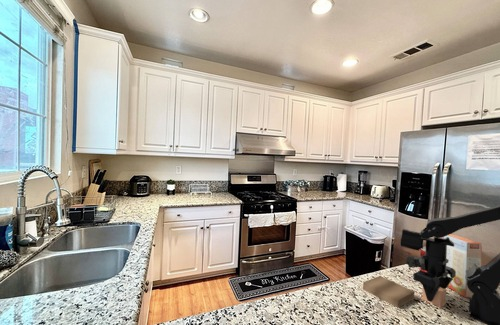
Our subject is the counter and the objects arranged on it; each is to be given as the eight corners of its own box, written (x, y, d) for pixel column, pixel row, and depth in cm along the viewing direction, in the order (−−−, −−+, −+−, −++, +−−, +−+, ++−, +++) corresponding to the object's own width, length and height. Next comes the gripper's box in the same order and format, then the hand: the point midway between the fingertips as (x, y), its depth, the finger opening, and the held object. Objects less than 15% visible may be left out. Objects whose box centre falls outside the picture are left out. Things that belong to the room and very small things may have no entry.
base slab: (414, 299, 77) (414, 291, 77) (397, 309, 70) (397, 300, 71) (379, 283, 87) (380, 275, 87) (362, 290, 81) (363, 282, 81)
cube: (445, 303, 75) (446, 289, 75) (439, 307, 72) (440, 293, 72) (428, 295, 79) (428, 282, 79) (422, 299, 76) (422, 285, 76)
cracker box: (481, 299, 78) (483, 243, 79) (464, 298, 78) (466, 242, 79) (446, 279, 92) (448, 231, 93) (432, 278, 92) (434, 230, 93)
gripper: (420, 243, 87) (419, 281, 87) (397, 250, 78) (395, 292, 78) (456, 253, 78) (455, 296, 77) (435, 262, 68) (433, 311, 68)
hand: (434, 298), depth 75 cm, fingers open, 7 cm apart
